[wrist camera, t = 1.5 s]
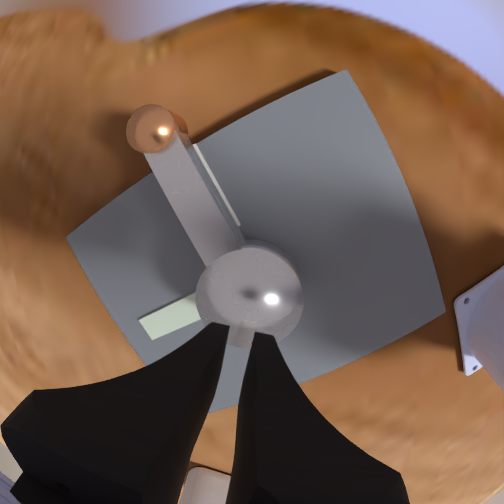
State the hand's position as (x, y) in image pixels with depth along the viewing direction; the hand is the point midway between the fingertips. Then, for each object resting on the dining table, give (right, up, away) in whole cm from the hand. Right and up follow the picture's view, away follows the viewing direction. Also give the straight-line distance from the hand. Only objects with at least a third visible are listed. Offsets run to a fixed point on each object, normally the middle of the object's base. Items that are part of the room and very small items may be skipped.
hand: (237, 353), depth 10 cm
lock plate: (+1, +2, +8) cm, 8 cm away
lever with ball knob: (-1, +5, +5) cm, 7 cm away
